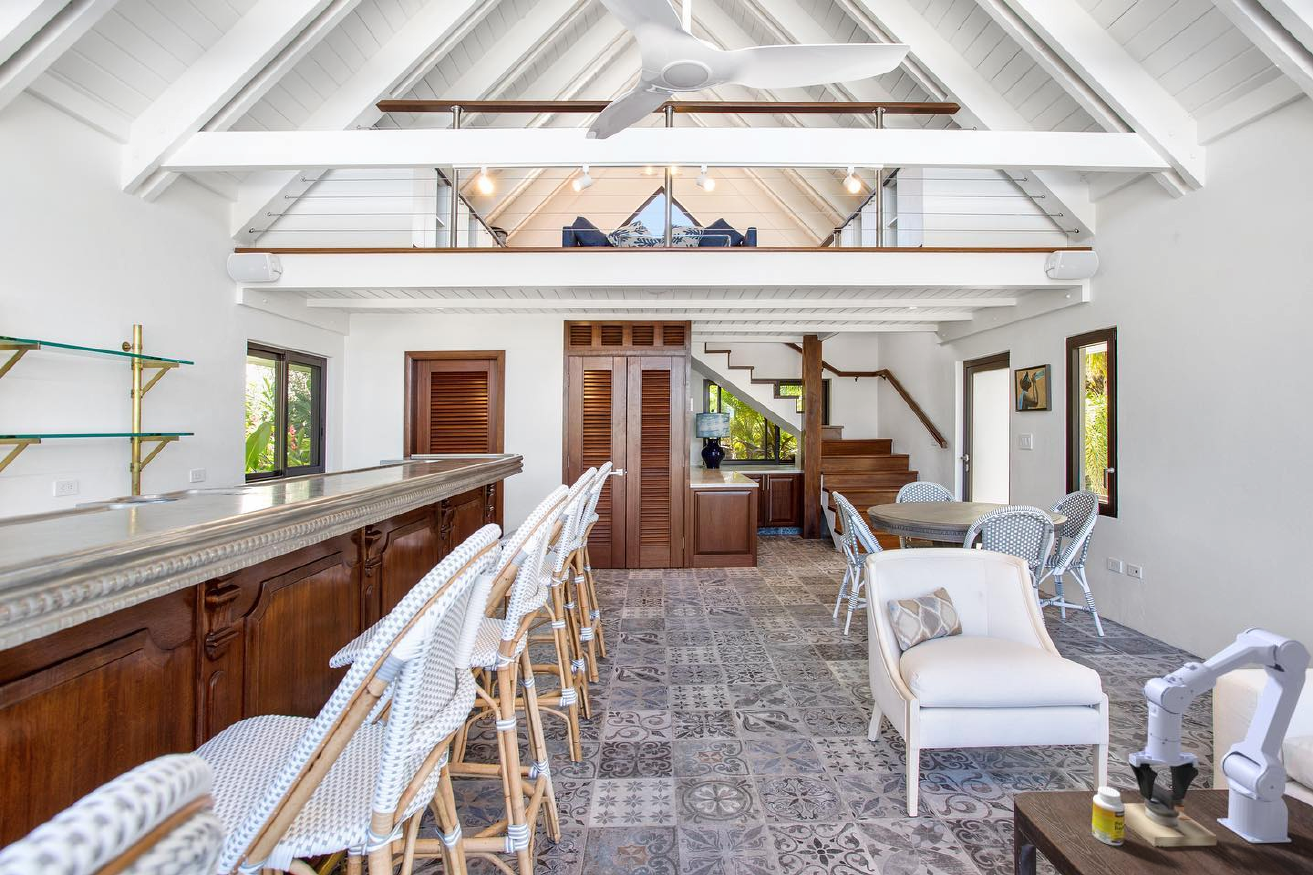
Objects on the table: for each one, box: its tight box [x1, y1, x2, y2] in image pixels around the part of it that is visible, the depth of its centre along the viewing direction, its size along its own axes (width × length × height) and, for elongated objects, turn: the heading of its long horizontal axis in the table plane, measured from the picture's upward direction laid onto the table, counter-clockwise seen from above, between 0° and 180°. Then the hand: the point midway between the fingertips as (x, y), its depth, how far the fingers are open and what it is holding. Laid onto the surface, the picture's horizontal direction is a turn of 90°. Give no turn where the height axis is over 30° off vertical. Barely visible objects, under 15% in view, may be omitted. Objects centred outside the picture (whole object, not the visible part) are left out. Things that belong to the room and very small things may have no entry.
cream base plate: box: [1123, 802, 1218, 848], centre depth 141 cm, size 14×12×4 cm
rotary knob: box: [1144, 781, 1186, 817], centre depth 140 cm, size 6×8×4 cm
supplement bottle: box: [1091, 786, 1125, 846], centre depth 137 cm, size 6×6×10 cm
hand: (1162, 796), depth 141 cm, fingers open, 7 cm apart
